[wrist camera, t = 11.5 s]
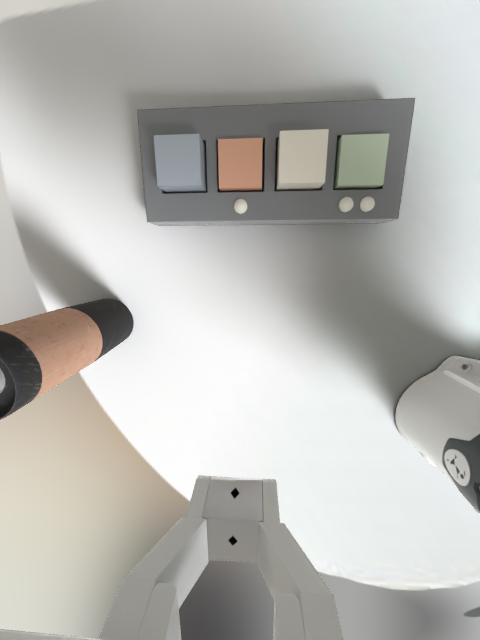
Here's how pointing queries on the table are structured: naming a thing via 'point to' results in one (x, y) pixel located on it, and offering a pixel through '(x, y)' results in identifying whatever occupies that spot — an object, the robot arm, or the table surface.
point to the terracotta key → (240, 165)
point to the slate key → (181, 163)
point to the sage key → (360, 161)
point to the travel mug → (56, 348)
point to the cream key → (301, 160)
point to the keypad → (267, 125)
